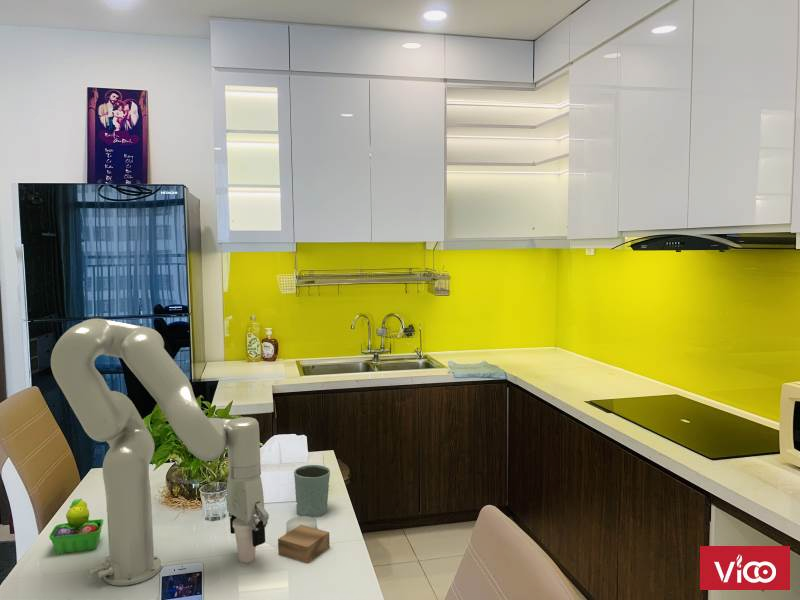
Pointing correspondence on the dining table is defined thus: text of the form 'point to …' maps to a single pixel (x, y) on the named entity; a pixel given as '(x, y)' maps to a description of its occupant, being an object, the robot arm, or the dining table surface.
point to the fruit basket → (76, 530)
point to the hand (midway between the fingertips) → (247, 538)
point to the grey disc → (300, 522)
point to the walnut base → (303, 543)
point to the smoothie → (244, 539)
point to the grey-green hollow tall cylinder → (311, 490)
